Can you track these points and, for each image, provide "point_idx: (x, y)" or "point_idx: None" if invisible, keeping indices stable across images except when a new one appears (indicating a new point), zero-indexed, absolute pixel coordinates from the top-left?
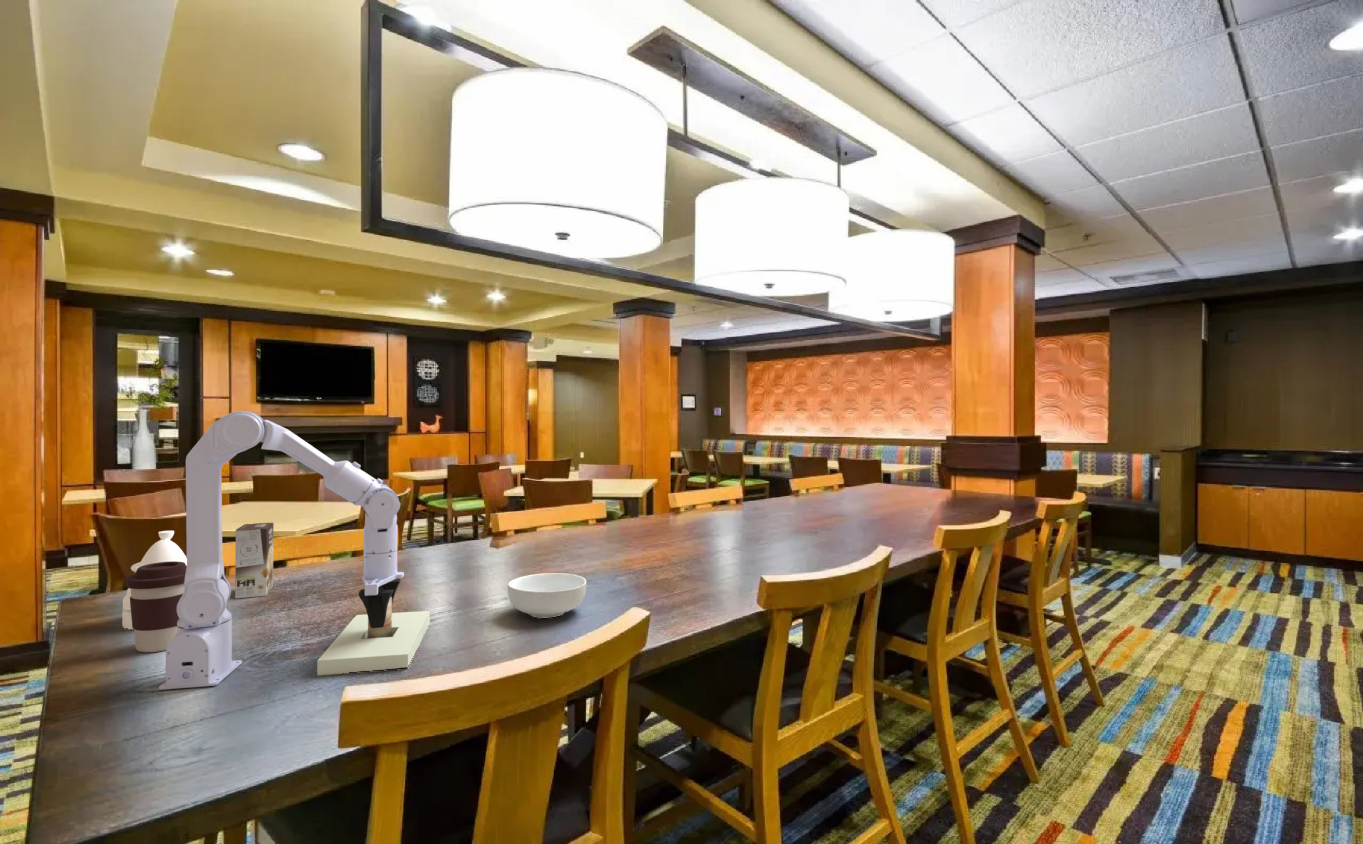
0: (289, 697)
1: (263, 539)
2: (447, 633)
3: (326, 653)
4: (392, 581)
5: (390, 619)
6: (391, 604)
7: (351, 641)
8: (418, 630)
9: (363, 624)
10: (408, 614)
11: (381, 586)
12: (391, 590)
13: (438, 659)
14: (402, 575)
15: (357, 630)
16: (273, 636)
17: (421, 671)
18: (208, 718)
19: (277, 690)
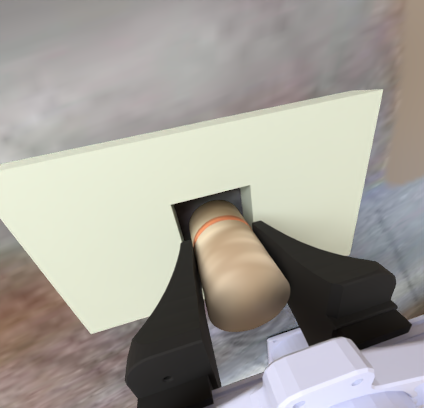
0: (390, 231)
1: None
2: (90, 58)
3: None
4: (204, 364)
5: (232, 223)
6: (240, 254)
7: None
8: (199, 133)
9: (157, 288)
10: (44, 230)
11: (368, 340)
12: (360, 285)
13: (314, 19)
14: (356, 356)
15: None
16: None
17: (376, 47)
18: (406, 272)
19: (362, 256)
